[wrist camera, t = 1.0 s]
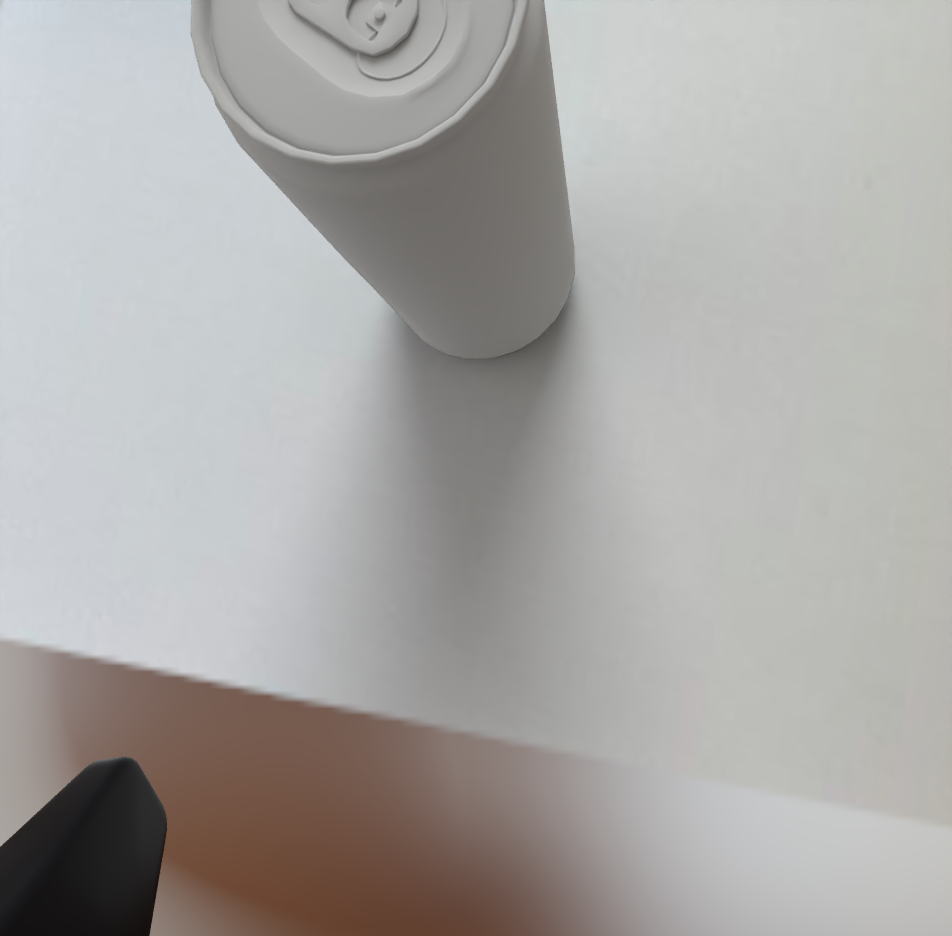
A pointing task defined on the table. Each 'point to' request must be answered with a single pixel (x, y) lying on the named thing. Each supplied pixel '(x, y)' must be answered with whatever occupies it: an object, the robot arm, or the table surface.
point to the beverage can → (410, 149)
